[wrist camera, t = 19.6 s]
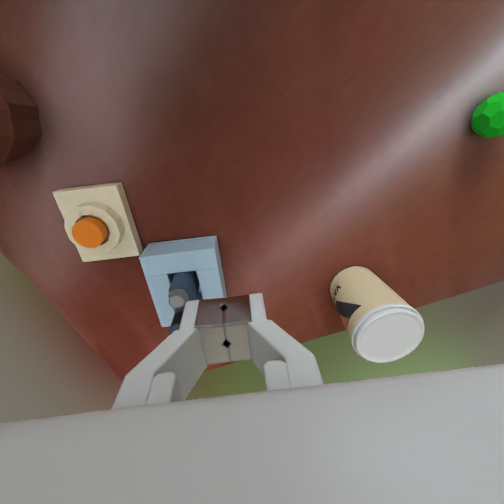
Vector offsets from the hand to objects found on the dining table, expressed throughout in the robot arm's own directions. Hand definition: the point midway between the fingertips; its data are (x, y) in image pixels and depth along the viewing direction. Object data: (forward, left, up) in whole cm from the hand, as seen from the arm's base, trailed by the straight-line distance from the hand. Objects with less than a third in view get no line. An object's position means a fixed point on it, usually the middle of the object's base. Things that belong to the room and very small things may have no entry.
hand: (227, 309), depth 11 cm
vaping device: (+14, -8, -27) cm, 31 cm away
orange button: (+4, -18, -24) cm, 31 cm away
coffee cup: (+20, +18, -28) cm, 38 cm away
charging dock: (+14, -8, -27) cm, 32 cm away
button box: (+4, -18, -27) cm, 33 cm away
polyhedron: (-4, +33, -28) cm, 43 cm away
